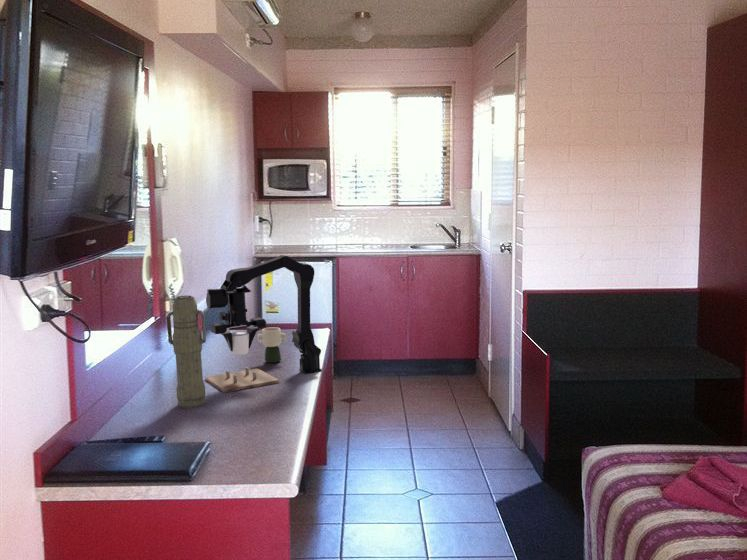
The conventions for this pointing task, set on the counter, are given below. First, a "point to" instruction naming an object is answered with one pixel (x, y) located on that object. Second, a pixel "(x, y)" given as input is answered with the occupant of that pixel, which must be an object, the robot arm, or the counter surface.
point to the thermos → (187, 351)
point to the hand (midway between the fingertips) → (240, 349)
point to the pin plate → (241, 379)
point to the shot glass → (240, 343)
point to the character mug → (272, 343)
